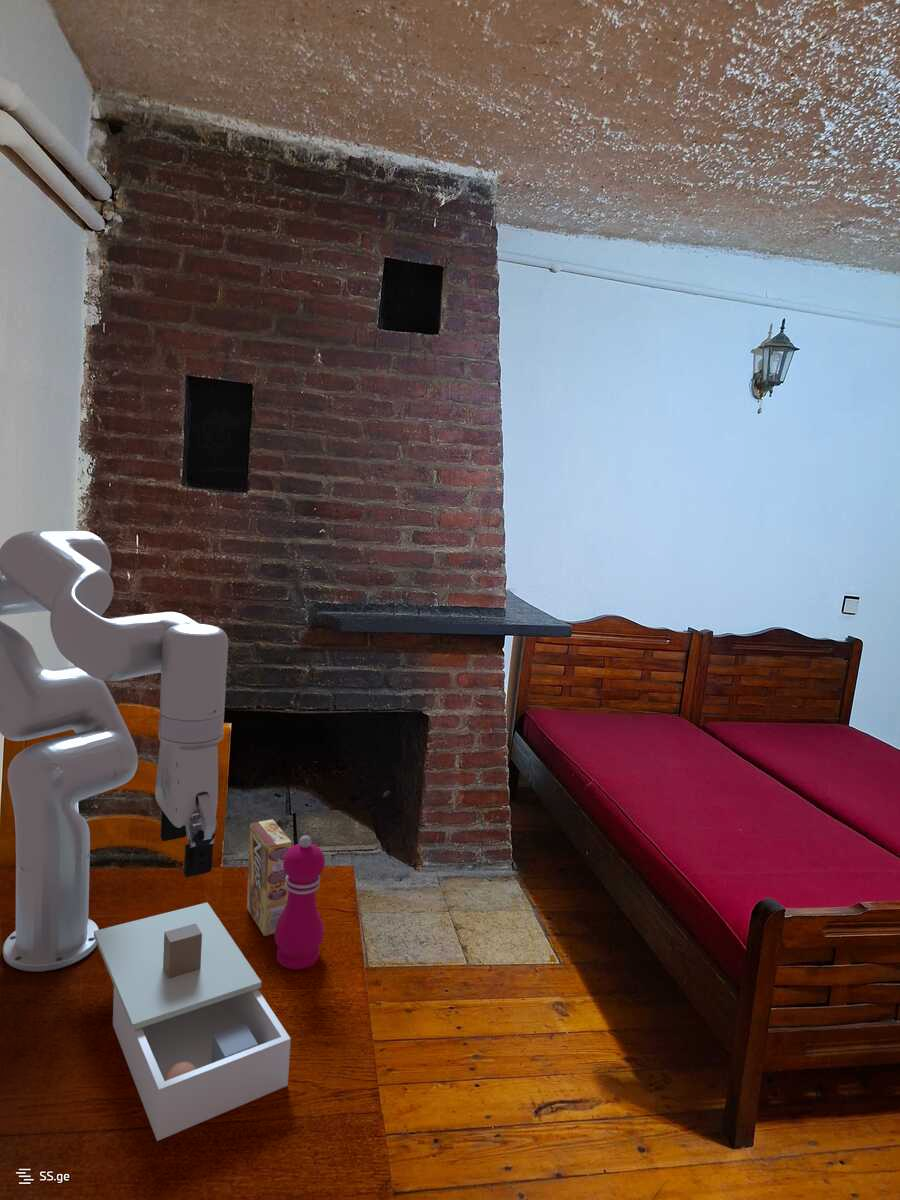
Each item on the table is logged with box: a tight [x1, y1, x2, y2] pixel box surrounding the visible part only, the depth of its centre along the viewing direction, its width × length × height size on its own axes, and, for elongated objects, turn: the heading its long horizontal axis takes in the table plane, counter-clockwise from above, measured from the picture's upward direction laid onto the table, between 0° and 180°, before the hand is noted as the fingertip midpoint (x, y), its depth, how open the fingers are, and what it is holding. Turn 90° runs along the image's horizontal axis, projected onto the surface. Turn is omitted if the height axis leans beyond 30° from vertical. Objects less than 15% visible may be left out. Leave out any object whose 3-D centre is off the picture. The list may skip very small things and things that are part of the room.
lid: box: [94, 902, 262, 1031], centre depth 100 cm, size 21×16×6 cm
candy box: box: [246, 819, 293, 937], centre depth 123 cm, size 9×4×15 cm, turn 33°
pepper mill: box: [273, 835, 326, 970], centre depth 113 cm, size 7×7×20 cm
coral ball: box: [165, 1061, 196, 1081], centre depth 88 cm, size 4×4×4 cm
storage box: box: [112, 986, 292, 1142], centre depth 93 cm, size 20×15×7 cm
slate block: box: [212, 1024, 258, 1063], centre depth 92 cm, size 4×4×4 cm
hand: (185, 855), depth 96 cm, fingers open, 9 cm apart
